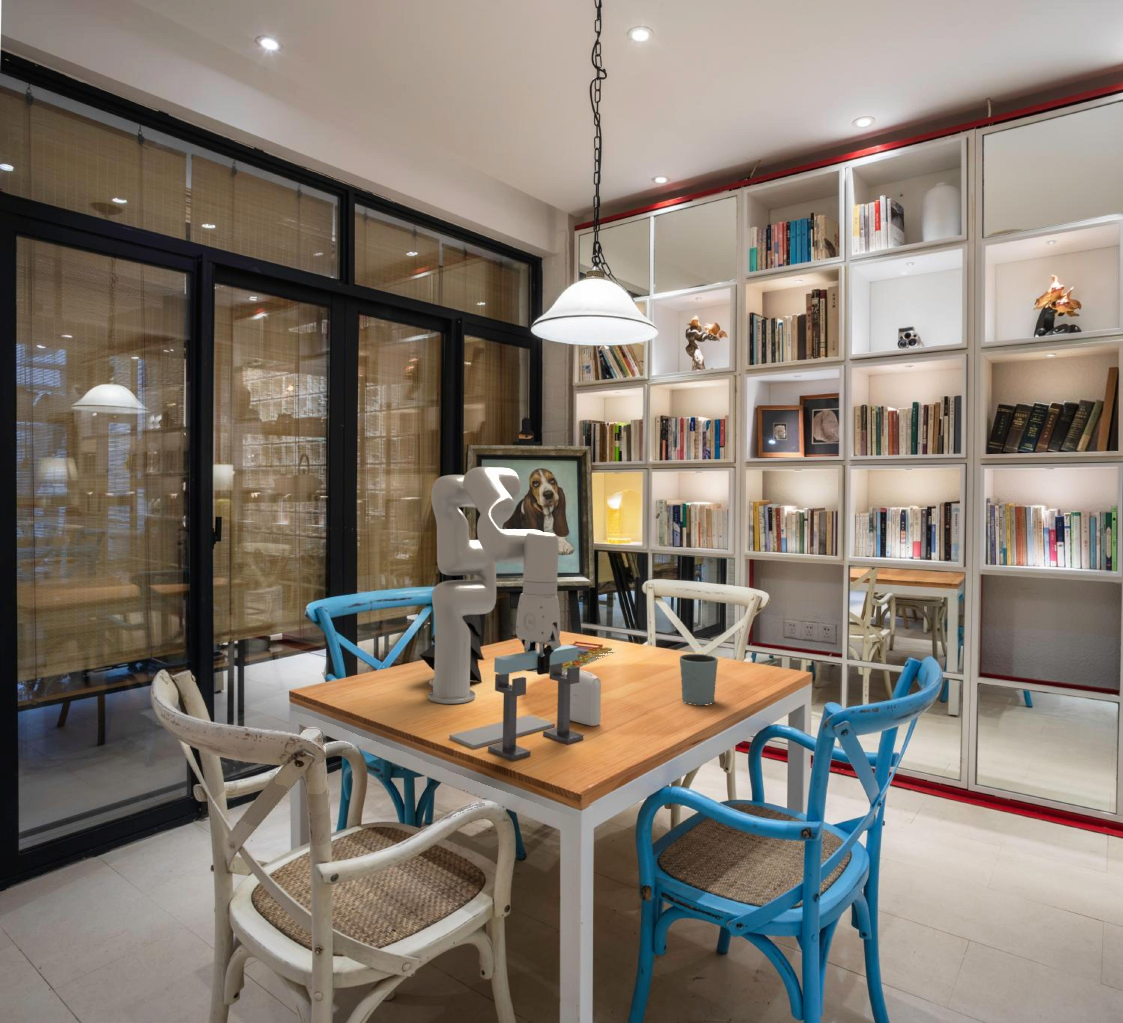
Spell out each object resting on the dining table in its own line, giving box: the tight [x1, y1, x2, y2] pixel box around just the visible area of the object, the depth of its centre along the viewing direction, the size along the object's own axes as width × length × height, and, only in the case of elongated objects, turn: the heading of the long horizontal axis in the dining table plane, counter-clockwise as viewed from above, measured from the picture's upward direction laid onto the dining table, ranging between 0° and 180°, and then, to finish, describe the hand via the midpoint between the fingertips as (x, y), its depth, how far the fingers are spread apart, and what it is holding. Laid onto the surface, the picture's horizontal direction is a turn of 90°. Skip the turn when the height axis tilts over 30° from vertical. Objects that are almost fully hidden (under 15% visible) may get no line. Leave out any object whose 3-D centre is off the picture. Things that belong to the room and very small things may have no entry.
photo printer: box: [565, 669, 602, 727], centre depth 181 cm, size 10×4×12 cm, turn 47°
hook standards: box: [487, 663, 584, 762], centre depth 163 cm, size 8×21×16 cm, turn 134°
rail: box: [493, 644, 578, 675], centre depth 163 cm, size 3×22×3 cm, turn 134°
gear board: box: [524, 641, 614, 675], centre depth 252 cm, size 45×2×19 cm
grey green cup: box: [679, 653, 719, 706], centre depth 201 cm, size 10×10×12 cm
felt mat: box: [449, 714, 556, 750], centre depth 171 cm, size 9×24×1 cm, turn 134°
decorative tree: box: [418, 614, 485, 683], centre depth 221 cm, size 15×15×35 cm
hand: (537, 671), depth 163 cm, fingers closed on rail, 3 cm apart
